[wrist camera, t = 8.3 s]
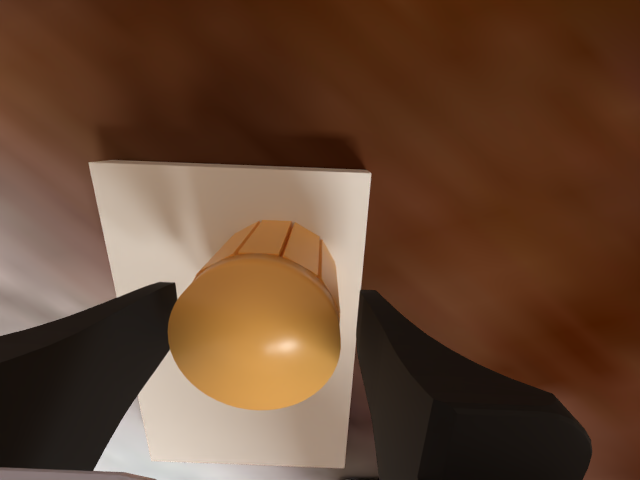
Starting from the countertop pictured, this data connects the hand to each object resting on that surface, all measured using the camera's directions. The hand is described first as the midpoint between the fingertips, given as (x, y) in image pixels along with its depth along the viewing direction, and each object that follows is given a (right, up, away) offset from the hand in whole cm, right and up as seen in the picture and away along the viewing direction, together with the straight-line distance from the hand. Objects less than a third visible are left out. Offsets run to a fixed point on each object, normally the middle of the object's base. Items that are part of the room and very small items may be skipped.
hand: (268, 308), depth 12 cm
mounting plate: (-2, -2, +5) cm, 6 cm away
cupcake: (0, +1, +3) cm, 3 cm away
